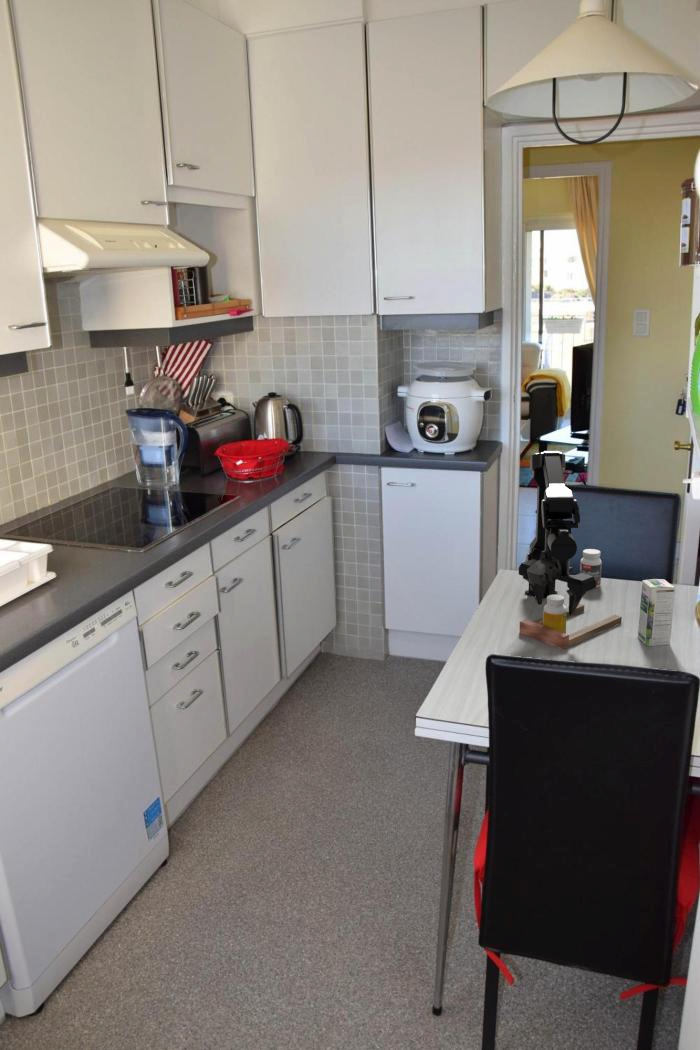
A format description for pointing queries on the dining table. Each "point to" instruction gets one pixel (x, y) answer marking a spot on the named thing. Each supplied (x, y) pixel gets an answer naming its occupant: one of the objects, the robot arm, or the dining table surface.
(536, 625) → the frame
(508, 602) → the dining table surface
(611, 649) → the dining table surface
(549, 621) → the supplement bottle
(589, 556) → the pill bottle
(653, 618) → the syrup box
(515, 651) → the dining table surface
